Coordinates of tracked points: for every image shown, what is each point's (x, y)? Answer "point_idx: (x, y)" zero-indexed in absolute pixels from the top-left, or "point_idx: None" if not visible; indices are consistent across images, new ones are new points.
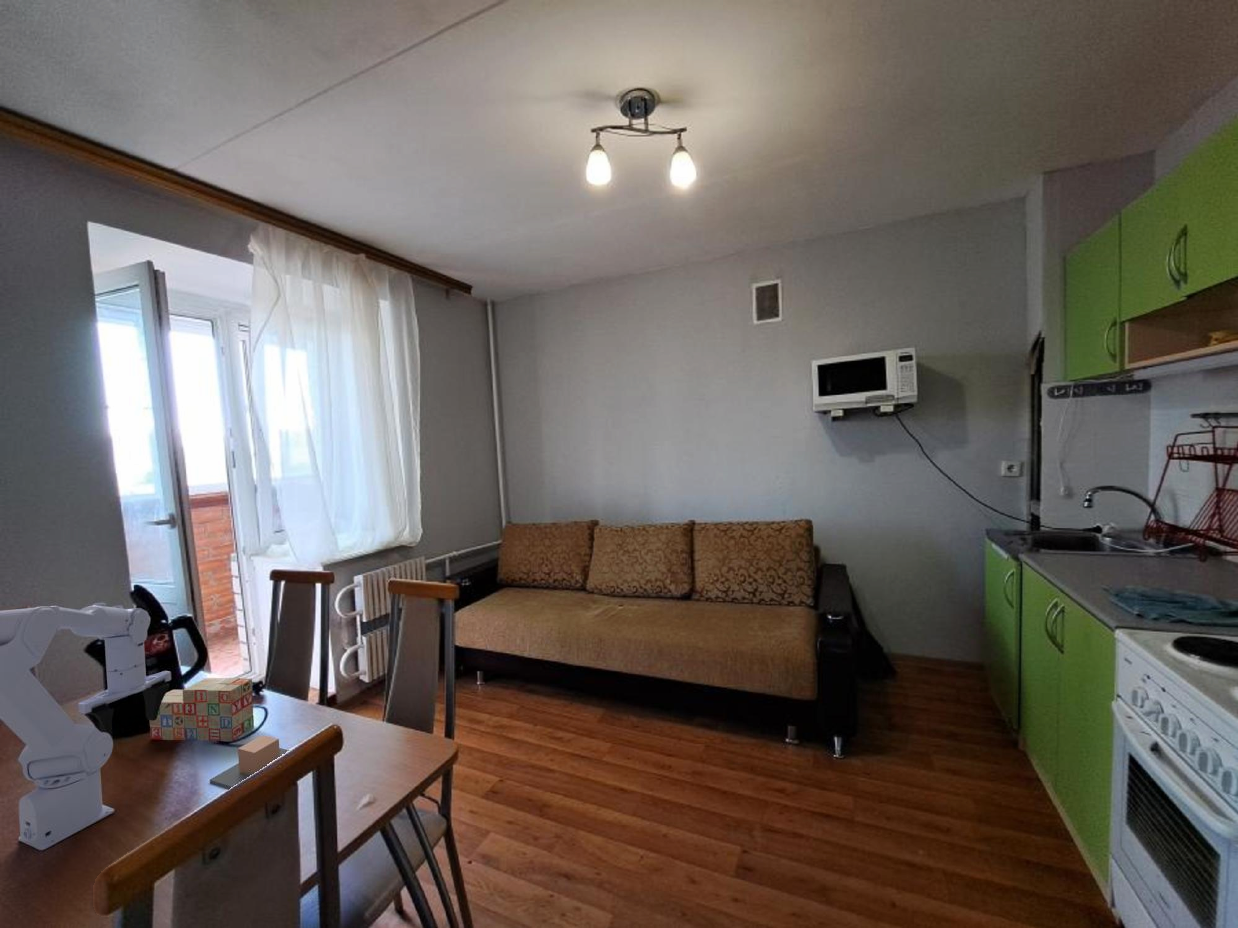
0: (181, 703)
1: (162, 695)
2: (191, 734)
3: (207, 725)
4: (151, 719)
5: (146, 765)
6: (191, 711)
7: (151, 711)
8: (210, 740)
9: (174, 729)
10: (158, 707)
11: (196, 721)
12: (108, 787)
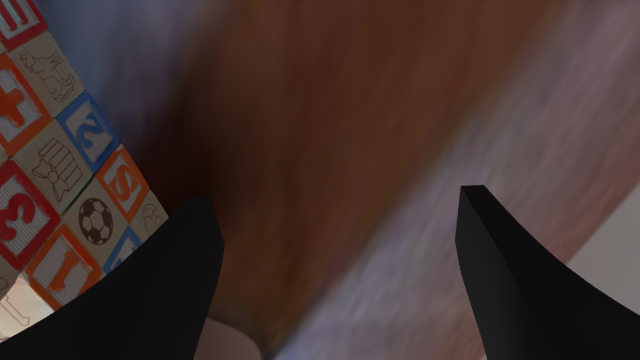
0: (32, 278)
1: (63, 319)
2: (91, 128)
3: (2, 64)
4: (212, 214)
5: (287, 86)
6: (18, 195)
7: (193, 257)
8: (43, 19)
9: (129, 212)
10: (146, 247)
11: (34, 137)
12: (440, 57)
